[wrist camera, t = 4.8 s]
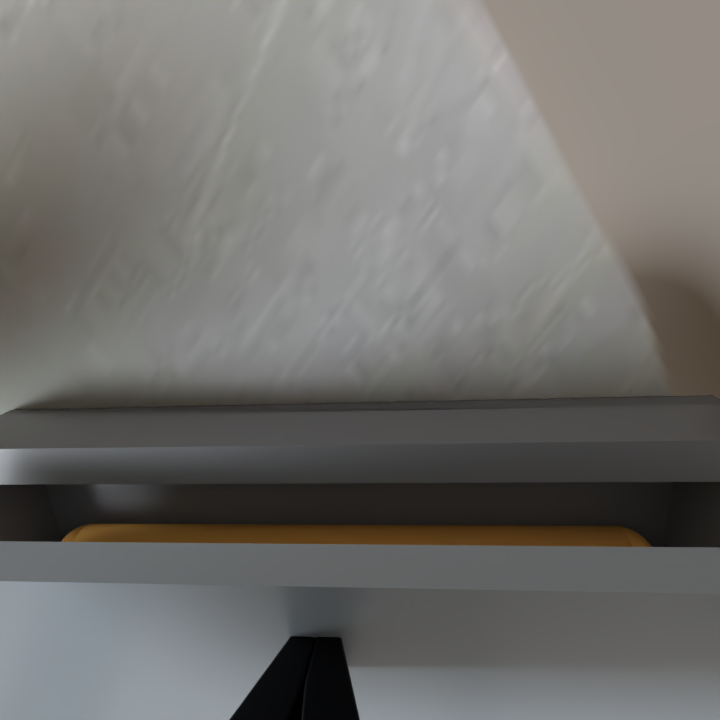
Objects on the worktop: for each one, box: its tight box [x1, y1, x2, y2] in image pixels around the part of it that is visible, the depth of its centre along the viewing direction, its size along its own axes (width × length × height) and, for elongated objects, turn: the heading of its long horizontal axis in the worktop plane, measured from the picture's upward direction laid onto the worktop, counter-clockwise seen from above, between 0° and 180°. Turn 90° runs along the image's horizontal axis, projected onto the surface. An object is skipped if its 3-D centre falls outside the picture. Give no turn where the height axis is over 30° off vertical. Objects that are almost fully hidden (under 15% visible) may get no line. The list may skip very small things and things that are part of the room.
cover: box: [0, 541, 720, 720], centre depth 10 cm, size 20×8×1 cm, turn 93°
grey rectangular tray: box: [0, 395, 720, 548], centre depth 12 cm, size 20×8×2 cm, turn 93°
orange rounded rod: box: [61, 524, 651, 547], centre depth 12 cm, size 17×2×2 cm, turn 93°
